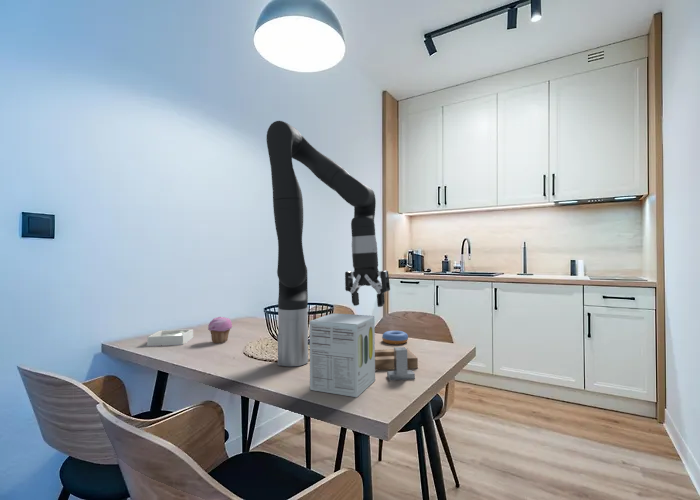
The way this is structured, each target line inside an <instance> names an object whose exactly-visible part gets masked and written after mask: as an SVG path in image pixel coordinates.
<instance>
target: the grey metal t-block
mask: <svg viewBox="0 0 700 500" xmlns="http://www.w3.org/2000/svg"><path fill="white" fill-rule="evenodd" d="M393 349H394V369H393V370H389V371H386V376H387V379H388V380H389V381H402V380H403V381H405V380H415V379H416V378H415V377H416V375H415V374H416V373H415V372H414V371H413V370H411V369H409V370H408V369H407V349H408V348H406V347H404V346H399V347H398V346H396V347H393Z"/></svg>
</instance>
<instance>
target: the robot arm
mask: <svg viewBox="0 0 700 500" xmlns="http://www.w3.org/2000/svg"><path fill="white" fill-rule="evenodd" d="M266 147H267V152H268V158H269V163H270V171H271V187H272V205H273V206H272V207H273V208H272V209H273V216H274V217H273V218H274V225H275V231H276V237H277V246H278V249H277V251H278V252H277V268H276V269H277V270H276V273H277V279H278V299H277V309H278V311H277V313H278V314H277V316H278V317H277V318H278V329H277V330H278V334H277V366H283V367H301V366H304V365H307V364H308V363H309V329H308V328H309V327H308V326H309V325H308V324H309V323H308V318H309V317H308V316H309V315H308V313H309V311H308V304H309V303H308V301H309V299H308V298H309V297H308V296H309V295H308V294H309V293H308V267H307V265H306V261H305V255H304V254H305V253H304V246H303V232H304V231H303V230H304V202H303V193H302V190H301V186H300V183H299V182H298V179H297V176H296V173H295V169H294V165H293V159H294V160H295V161H297V162H299V163H301V164H302V165H303V166H305V167H306V168H307V169H308V170H309V171H310V172H311V173H312V174H313V175H314V176H315V177H316V178H317V179H318V180H320V181H321V182H322V183H323V184H325V185H326V186H328V187H329V188H330V189H331V190H333V191H334V192H336V193H337V194H338V196H340V197H341V198H342V199H343V200H344V201H345V202H346V203H347V204H349V205H350V206H351V207H354V208H353V210H354V212H353V214H354V215H353V218H352V219H351V223H350V224H351V225H350V228H351V257H352V268H353V270H348V271H345V273H344V277H345V278H344V280H345V283H344V285H345V287H344V289H345V291H346V292H349V293H350V294H351V303H352V306H354V307H357V306H359V305H360V296H359V295H360V294H359V290H360V289H361V287H363V286H366V287H370V286H371V287H372V289H374V290H375V292H376V302H377V307H378V308H381V307H384V305H385V293H386V292H389V291H390V290H391V286H390V285H391V284H390V276H389V275H390V274H389V271H388V270H387V269H386V270H381V271H379V269H378V267H379V259H378V257H379V255H378V243H377V238H376V225H375V217H376V207H377V206H376V205H377V204H376V202H377V201H376V194H375V191H374V189H372V188H371V187H370V186H369V185H366V184H364V183H362V182H361V181H359V180H358V179H357V178H355V177H353V176H352V175H351V174H350V173H349V171H347V170H346V169H345V168H343V167H342V166H341V165H340V164H338V163H336V161H334V160H332V159H331V158H329V157H328V156H327V155H324V154H323V153H322V152H320V151H319V150H317V148H315V147H314V146H313V145H312V144H311V143H310V142H309V141H308V140H307V139H306V138H305V137H304V136H303V135H302V134H301V132H300V131H299V130H298V129H297V128H295V127H294V126H292V125H291V124H289V123H287V122H286V121H283V120H275V121H273V122H272V123H271V124H270V125H269V127H268V129H267V131H266ZM378 278H380V280H381V281H380V280H379V279H378ZM354 279H355V280H354Z"/></svg>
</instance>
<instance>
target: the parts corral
mask: <svg viewBox="0 0 700 500" xmlns="http://www.w3.org/2000/svg"><path fill="white" fill-rule="evenodd" d="M180 331H183V332H185V333H184V334H182V335H171V336H162V335H165V334H173V333H178V332H180ZM193 338H194V329H193V328H192V329H167V330H166V329H165V330H164V329H162V330H161V329H160V330H158V331H156V332H154V333H152V334H151V335H149V336H147V339H146V340H147V341H146V342H147V344H146V345H147V347H148V346H149V347H157V346H159V347H161V345H162V346H183V345H184V344H186V343H188V342H189V341H190V340H192V339H193Z"/></svg>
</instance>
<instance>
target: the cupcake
mask: <svg viewBox="0 0 700 500" xmlns="http://www.w3.org/2000/svg"><path fill="white" fill-rule="evenodd" d="M232 327H233V323H232V320H231V319H230V318H229V317H228V318H227V317H225V316H224V317H223V316H218V317H214V318H212V320H211V321H210V322H209V323H208V327H207V329H208V330H209V331H210V332H209V333H210V334H211V336H210V337H211V342H212V343H213V344H223V343H225V342H227V341H228V339H229V334H230V331H231V329H232Z"/></svg>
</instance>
